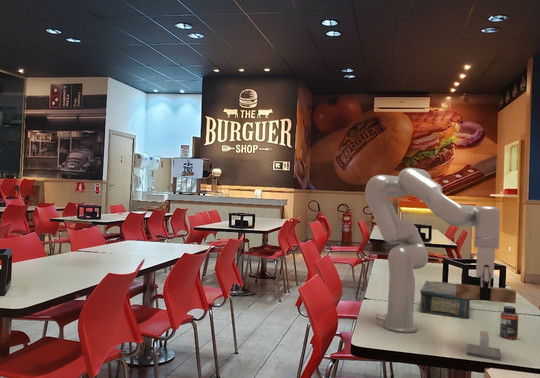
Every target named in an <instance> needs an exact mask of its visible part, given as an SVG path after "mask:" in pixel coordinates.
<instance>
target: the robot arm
mask: <svg viewBox="0 0 540 378" xmlns="http://www.w3.org/2000/svg"><path fill="white" fill-rule="evenodd" d="M364 195H365V196H364V197H365V200H366V203H367V205H368V207H369V209H370V211H371V213H372V216H373V218H374V221H375V223H376V226H377V228H378V230H379V233H380V235H381V237H382V239H383V241H384V242H385V243H387V244H390V245H392V244H393V245H396V244H398V245H396V246H393V248H391V250H390V251H389V253H388V255H387V263H388V270H389V271H388V274H389V276H388V277H389V280H388V295H387V296H388V297H387V313H386V314H385V313H384V314H380V313H375V319H376V320H378V321H383V322H382V327H383V328H384V329H386V330H388V331H392V332H397V333H407V334H408V333H415V332H417V330H418V327H417V326H416V325H415V324H414V309H415V296H416V295H415V294H416V293H415V292H416V291H415V290H416V279H415V275H414V270H418V269H419V270H420V269H421V268H423V267H424V268H425V266H426V265H427V264H428V261H429V253H428V250H427V248H426V245H425V243H424V241H423V239H422V237H421V235H420V232H419V230H418V228H417V226H415V224H414V223H413V222H412V221H410V220H408V219H400V217H399V216H398V214H397V212H396V210H395V207H394V206H393V204H392V203H391V202H390V200H388V198H387V197H389V198H400V197H404V196H409V195H413V196H414V197H415V198H417V199H419V200H420V201H421V202H423V203H424V204H426V207H428V209H429V210H430V211H431V212H432V214H434V215H435V216H436V217H438V218H439V219H440V220H442V221H444V222H445V223H446V224H448V225H450V226H453V227H457V228H459V227H461V228H463V227H467V228H468V227H470V228H471V227H474V245H473V247H474V248H476V249H477V252H476V269H475V272H476V273H475V275H476V277H477V278H478V279H479V278H480V281H479V282H480V285H479V286H481V287H480V300H479V301H486V300H488V301H489V302H491V301H490V299H491V288H490V287H491V281H492V279H493V278H494V271H495V270H494V269H495V259H496V258H495V257H496V250H499V249H500V230H501V229H500V226H501V225H500V224H501V209H500V208H499V207H497V206H492V205H491V206H490V205H479V206H478V205H471V204H459V203H457V202H455V201H454V200H452V199H451V198H449V197H447V196H446V195H445V194H444V193H443V186H442V185H441V184H439V183H438V182H436V181H435V180H433V179H432V176H431V174H430V173H429V172H428V171H427V170H425V169H422V168H416V167H406V168H403V169H402V170H401V171H399V173H398V175H389V174H378V175H377V174H376V175H374V176H373V177H371V178H370V179H369V180H368V181H367V183H366V186H365V190H364ZM488 301H487V302H488Z"/></svg>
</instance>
